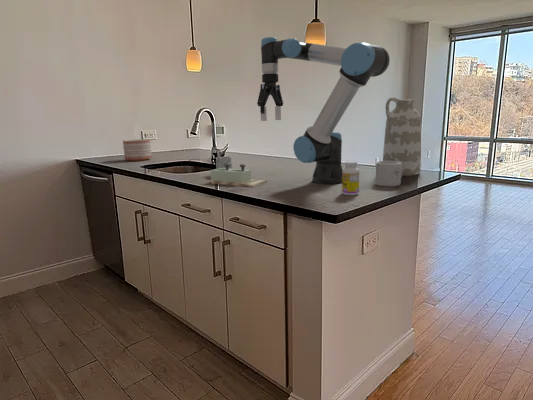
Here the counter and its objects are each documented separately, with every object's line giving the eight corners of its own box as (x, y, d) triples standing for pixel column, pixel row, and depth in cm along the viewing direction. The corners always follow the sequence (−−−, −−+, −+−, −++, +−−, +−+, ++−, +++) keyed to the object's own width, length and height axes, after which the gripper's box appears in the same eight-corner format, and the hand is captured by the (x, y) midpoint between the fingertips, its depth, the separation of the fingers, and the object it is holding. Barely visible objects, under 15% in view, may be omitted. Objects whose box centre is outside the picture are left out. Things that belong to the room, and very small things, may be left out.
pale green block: (251, 180, 188) (250, 169, 187) (241, 183, 181) (241, 172, 180) (221, 177, 197) (220, 168, 196) (211, 180, 190) (210, 170, 189)
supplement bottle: (339, 192, 159) (340, 161, 157) (355, 192, 160) (356, 160, 157) (344, 196, 153) (345, 163, 150) (361, 195, 153) (362, 162, 151)
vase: (403, 169, 215) (407, 97, 206) (428, 174, 198) (433, 95, 189) (372, 172, 208) (374, 98, 199) (395, 177, 191) (398, 96, 182)
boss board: (267, 182, 186) (266, 163, 184) (253, 187, 176) (252, 167, 174) (226, 179, 198) (225, 161, 196) (211, 183, 188) (210, 164, 186)
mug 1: (225, 177, 204) (223, 154, 202) (211, 175, 213) (210, 153, 210) (236, 175, 210) (235, 153, 207) (222, 173, 218) (221, 151, 215)
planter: (120, 161, 286) (117, 141, 283) (132, 158, 305) (130, 139, 301) (144, 161, 283) (142, 141, 280) (156, 158, 301) (154, 139, 298)
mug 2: (387, 187, 167) (388, 164, 165) (370, 184, 176) (370, 161, 174) (410, 184, 173) (411, 161, 171) (392, 181, 182) (393, 159, 180)
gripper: (276, 75, 194) (277, 119, 198) (248, 72, 173) (250, 121, 178) (289, 74, 190) (290, 119, 195) (263, 71, 169) (264, 121, 174)
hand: (271, 120), depth 186 cm, fingers open, 13 cm apart
